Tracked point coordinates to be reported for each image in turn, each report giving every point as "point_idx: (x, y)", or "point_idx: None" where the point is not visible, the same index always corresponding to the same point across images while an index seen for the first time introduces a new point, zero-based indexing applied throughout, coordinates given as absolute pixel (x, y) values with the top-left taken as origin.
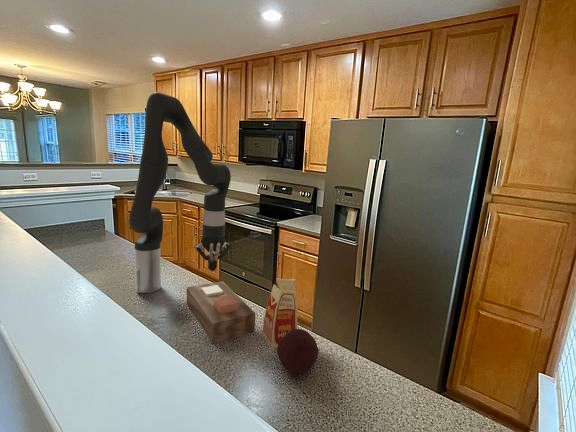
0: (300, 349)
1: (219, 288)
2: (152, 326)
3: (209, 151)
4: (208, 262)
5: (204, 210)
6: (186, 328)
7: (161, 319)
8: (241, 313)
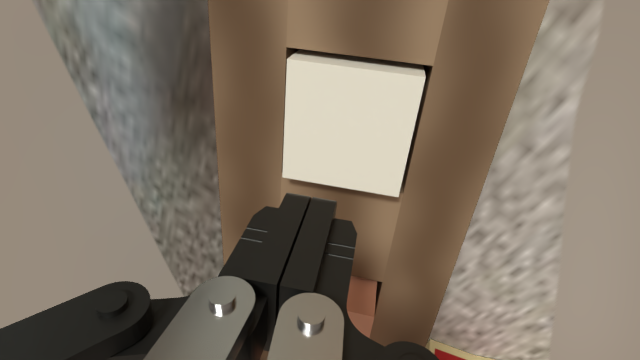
0: None
1: (401, 146)
2: (82, 92)
3: None
4: (229, 275)
5: None
6: (202, 180)
7: (115, 55)
8: None
